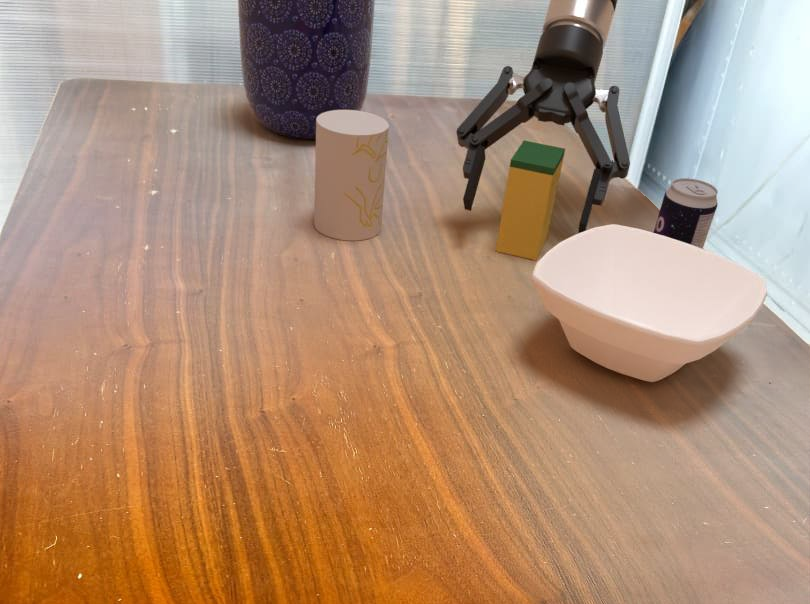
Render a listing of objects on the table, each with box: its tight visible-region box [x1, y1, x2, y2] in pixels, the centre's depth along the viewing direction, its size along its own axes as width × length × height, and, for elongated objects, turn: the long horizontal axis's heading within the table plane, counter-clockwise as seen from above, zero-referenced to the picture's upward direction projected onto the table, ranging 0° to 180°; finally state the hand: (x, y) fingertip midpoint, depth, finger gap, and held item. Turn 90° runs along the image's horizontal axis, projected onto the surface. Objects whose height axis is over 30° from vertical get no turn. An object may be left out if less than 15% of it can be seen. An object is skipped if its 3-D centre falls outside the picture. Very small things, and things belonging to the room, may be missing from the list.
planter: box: [237, 0, 375, 140], centre depth 124 cm, size 18×18×21 cm
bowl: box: [530, 223, 768, 383], centre depth 88 cm, size 21×21×9 cm
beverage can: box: [652, 177, 719, 249], centre depth 98 cm, size 6×6×12 cm
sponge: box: [495, 140, 566, 261], centre depth 104 cm, size 5×7×11 cm
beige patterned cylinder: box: [313, 110, 390, 242], centre depth 103 cm, size 8×8×12 cm
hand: (523, 217), depth 101 cm, fingers open, 13 cm apart
